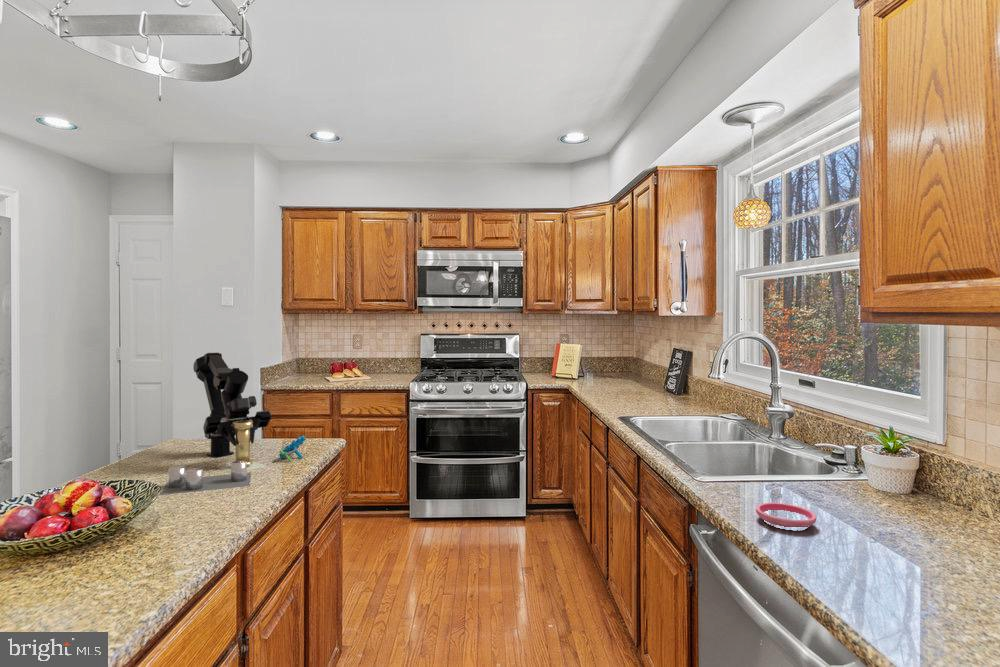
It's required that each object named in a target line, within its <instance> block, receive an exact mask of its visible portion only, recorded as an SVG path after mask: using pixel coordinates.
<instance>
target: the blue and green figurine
mask: <svg viewBox="0 0 1000 667" xmlns="http://www.w3.org/2000/svg"><path fill="white" fill-rule="evenodd" d="M305 441H306V436H305V435H302V436H299V437H297V438H296V440H295V439H293V440H292V441H291V442H290V443H291V444H287V445H286V446H285V448H284V449H281V450H280V451H279V454H278V456H279V458H280V459H283V458H286V459H287V461H291V462H292V461H293V460H292V459H291V458H290V457H289V456H291V455H292V454H296V456H297V457H298V458H299V459H300V458H301V459H302V458H304V456H303V455H302V453H300V452H299V448H300V446H301V445H303V444H304V442H305Z"/></svg>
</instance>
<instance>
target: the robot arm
mask: <svg viewBox="0 0 1000 667" xmlns="http://www.w3.org/2000/svg"><path fill="white" fill-rule="evenodd" d="M193 372H194V373H195V374H196V378H197V379H198V380H199V381H201V382H202V383H203V385H204V389H205V393H206V397H207V401H208V406H209V409H210V410H209V411H210V414H209V416H207V417H206V418H205V420H204V423H203V427H202V428H203V434H204V438H206V439H207V440H210V452H206V454H207V455H206V454H205V455H206V456H209V455H210V457H214V458H219V457H225V456H229V455H235V452H234V451H231V450H230V449H231V447H230V446H231V444H232V445H233V446H234V447H236V429H233V422H235V421H241V420H251V421H253V428H250V445H253V444H254V442H255V436H256V435H255V434H256V430H258V429H259V428H267V427H268V426H269V424H270V421H271V419H272V413H271V411H270V410H262V411H261V410H260V411H259V410H258V411H256V413H255V416H248V415H250V409H251V408H255V407H256V406H257V404H258V403H257V399H256V396H255V395H252V396H251V395H250V396H248V397H243V396H242V393H244V391H245V389H246V386H247V383H248V380H249V375H248V373H246V372H245V371H243V370H241V369H240V367H232V368H229V366H228V365H227V363H226V362H225V360H224V359H223V355H222V353H219V352H207V353H205V354H204V355H202V356H200V357H198V358H196V360H195V361H194V363H193Z"/></svg>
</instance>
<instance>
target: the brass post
mask: <svg viewBox="0 0 1000 667" xmlns="http://www.w3.org/2000/svg"><path fill="white" fill-rule="evenodd" d="M250 428H253V421H251V420H241V421H235V422H233V429H236V435H235V439H236V446H235V461H247V465H250V464H252V463H253V462H254V460H252V459H251V442H250Z"/></svg>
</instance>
